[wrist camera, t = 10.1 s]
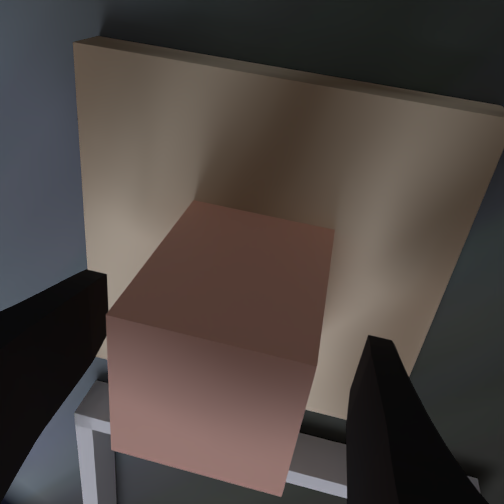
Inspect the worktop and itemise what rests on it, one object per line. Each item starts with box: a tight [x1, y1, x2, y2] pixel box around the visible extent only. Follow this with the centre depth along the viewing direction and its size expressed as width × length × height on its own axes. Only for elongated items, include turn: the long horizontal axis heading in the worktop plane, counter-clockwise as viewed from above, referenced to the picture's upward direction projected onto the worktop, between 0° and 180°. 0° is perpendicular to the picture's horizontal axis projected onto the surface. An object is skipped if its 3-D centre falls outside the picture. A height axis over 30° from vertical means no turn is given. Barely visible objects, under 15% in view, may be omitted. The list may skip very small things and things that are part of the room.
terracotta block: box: [106, 200, 335, 497], centre depth 14 cm, size 4×4×6 cm
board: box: [73, 36, 504, 420], centre depth 17 cm, size 12×12×2 cm
